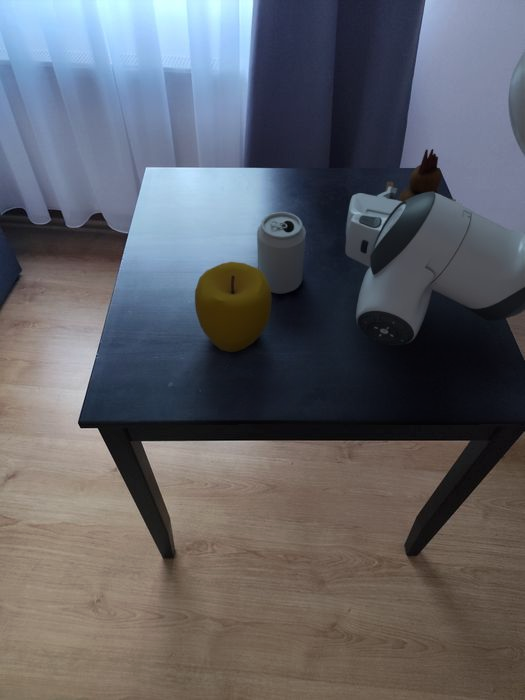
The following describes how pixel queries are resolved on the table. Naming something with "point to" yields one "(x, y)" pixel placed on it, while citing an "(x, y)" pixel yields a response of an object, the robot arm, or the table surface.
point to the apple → (233, 305)
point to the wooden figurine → (423, 177)
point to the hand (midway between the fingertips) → (422, 197)
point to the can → (281, 251)
